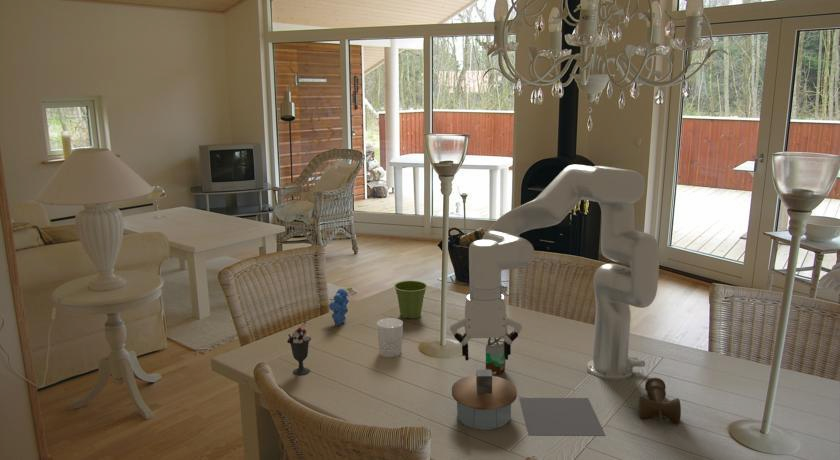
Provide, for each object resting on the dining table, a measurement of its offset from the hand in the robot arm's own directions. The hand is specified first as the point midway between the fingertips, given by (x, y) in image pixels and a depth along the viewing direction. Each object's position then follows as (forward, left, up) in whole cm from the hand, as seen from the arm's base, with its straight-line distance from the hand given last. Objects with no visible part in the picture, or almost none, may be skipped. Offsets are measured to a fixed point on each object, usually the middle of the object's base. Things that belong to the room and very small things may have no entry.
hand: (486, 357), depth 156 cm
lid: (0, 0, -9) cm, 9 cm away
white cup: (+27, -38, -16) cm, 49 cm away
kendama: (-43, -3, -16) cm, 46 cm away
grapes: (+47, -63, -16) cm, 80 cm away
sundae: (+52, -25, -16) cm, 59 cm away
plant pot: (+22, -70, -16) cm, 75 cm away
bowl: (+1, 0, -16) cm, 16 cm away
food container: (-5, -26, -16) cm, 31 cm away
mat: (-18, 0, -16) cm, 24 cm away
